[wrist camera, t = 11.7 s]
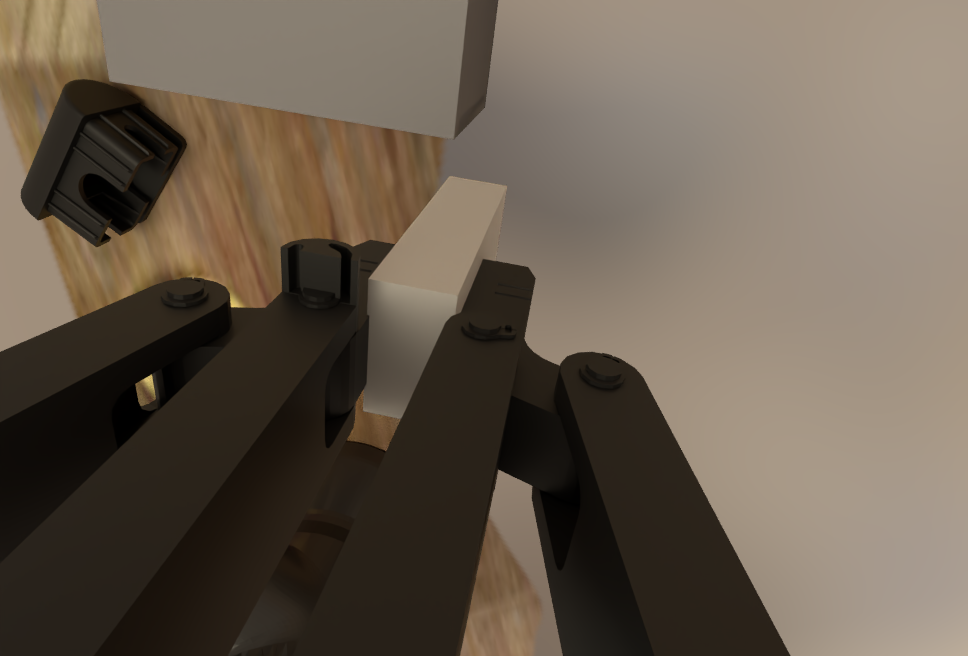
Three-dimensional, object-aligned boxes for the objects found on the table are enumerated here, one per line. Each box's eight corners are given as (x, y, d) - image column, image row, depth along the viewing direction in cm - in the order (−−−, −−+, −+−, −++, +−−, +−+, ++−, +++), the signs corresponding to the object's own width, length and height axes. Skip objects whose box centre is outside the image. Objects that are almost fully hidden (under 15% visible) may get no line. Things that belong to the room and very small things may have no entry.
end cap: (112, 71, 46) (41, 83, 40) (192, 137, 48) (135, 157, 42) (67, 170, 51) (-2, 193, 45) (142, 227, 52) (84, 256, 46)
